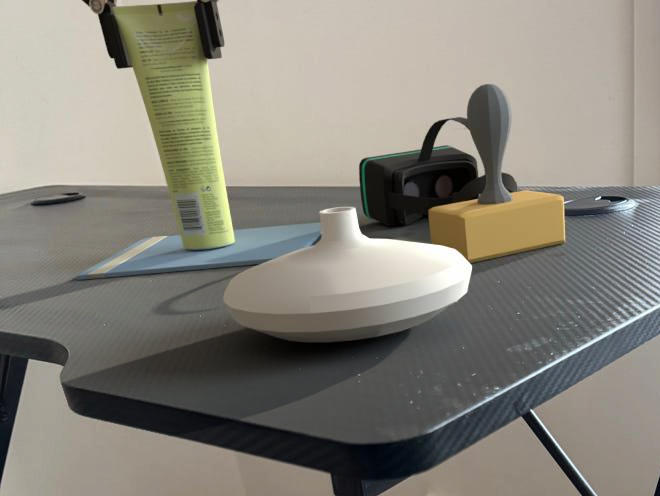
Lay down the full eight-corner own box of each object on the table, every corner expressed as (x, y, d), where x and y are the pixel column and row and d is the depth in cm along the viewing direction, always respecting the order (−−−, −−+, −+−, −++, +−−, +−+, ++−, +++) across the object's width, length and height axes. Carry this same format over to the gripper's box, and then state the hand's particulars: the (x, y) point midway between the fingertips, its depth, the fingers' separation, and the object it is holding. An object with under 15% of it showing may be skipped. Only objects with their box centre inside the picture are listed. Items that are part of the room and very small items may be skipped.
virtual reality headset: (455, 201, 100) (451, 95, 93) (544, 239, 89) (546, 121, 82) (362, 218, 95) (352, 108, 89) (443, 260, 84) (438, 137, 78)
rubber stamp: (465, 265, 74) (448, 90, 67) (431, 256, 78) (413, 91, 71) (567, 243, 77) (562, 76, 71) (529, 235, 82) (521, 77, 75)
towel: (77, 280, 83) (76, 275, 83) (144, 242, 98) (143, 237, 98) (296, 260, 82) (295, 255, 81) (330, 225, 97) (329, 220, 96)
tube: (217, 239, 93) (164, 4, 82) (251, 240, 90) (202, -2, 80) (172, 251, 89) (111, 6, 79) (207, 253, 87) (148, 0, 76)
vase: (196, 336, 62) (167, 222, 58) (396, 286, 69) (382, 182, 65) (301, 384, 51) (274, 247, 47) (526, 319, 58) (519, 196, 54)
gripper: (230, -209, 74) (276, 52, 84) (22, -182, 75) (91, 71, 85) (203, -231, 68) (256, 54, 78) (-23, -202, 69) (57, 75, 79)
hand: (169, 61), depth 81 cm, fingers closed on tube, 7 cm apart
